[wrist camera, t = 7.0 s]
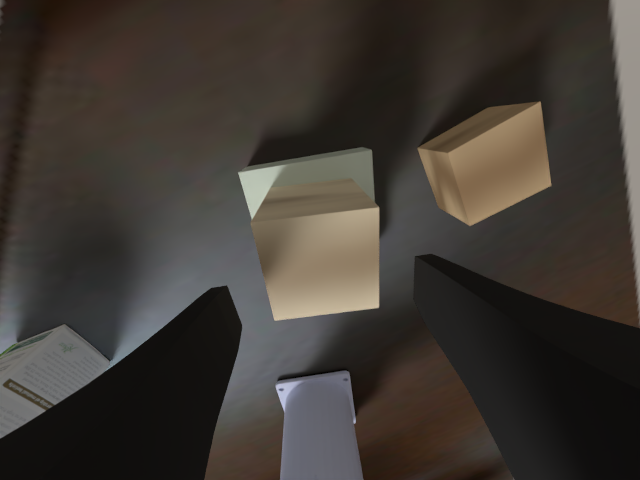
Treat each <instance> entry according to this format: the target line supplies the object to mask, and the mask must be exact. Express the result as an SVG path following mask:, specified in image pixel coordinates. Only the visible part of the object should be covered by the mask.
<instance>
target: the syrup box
mask: <svg viewBox="0 0 640 480" xmlns="http://www.w3.org/2000/svg"><path fill="white" fill-rule="evenodd" d="M109 365H110V362H109V360H108V359H107V358H105V357H104V356H103V355H102V354H101V353H100V352H99V351H98V350H97V349H96V348H94V347H93V346H92V345H91V344H90V343H88V342H87V341H86V340H85V339H83V338H82V337H81V336H79V335H78V334H77V333H76V332H74V331H73V330H72V329H71V328H69V327H68V326H67V325H65V324H64V325H61V326H59V327H57V328H54V329H51V330H49V331H46V332H43V333H41V334H38V335H36V336H33V337H31V338H28V339H26V340H24V341H21V342H19V343H16V344H14V345H12V346H11V347H9V348H8V349H7V350H5V351H4V352H3V353H2V354H0V438H2V437H4V436H5V435H7V434H9V433H10V432H12V431H14V430H16V429H17V428H19V427H21V426H22V425H24V424H26V423H27V422H29V421H30V420H32V419H34V418H35V417H37V416H38V415H40V414H41V413H43V412H45V411H46V410H48V409H49V408H51V407H52V406H54V405H56V404H57V403H59V402H60V401H62V400H63V399H65V398H67V397H68V396H70V395H71V394H73V393H74V392H76V391H78V390H79V389H81V388H82V387H84V386H85V385H87V384H88V383H90V382H91V381H92V380H94V379H95V378H97V377H98V376H100V375H101V374H103V373H104V371H105V370H106V369H107V367H108V366H109Z"/></svg>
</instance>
